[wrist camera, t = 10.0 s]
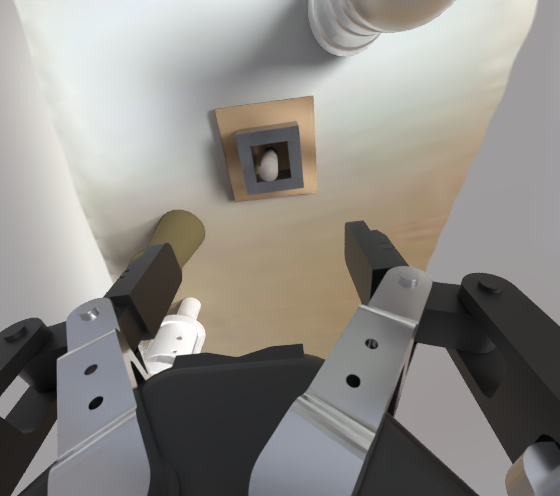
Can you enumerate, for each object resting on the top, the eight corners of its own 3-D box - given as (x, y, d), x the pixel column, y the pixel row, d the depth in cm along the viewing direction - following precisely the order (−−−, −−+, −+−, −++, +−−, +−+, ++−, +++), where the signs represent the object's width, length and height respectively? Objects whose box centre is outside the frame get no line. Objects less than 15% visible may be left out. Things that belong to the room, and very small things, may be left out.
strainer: (175, 320, 44) (134, 415, 31) (163, 289, 40) (111, 382, 28) (216, 318, 44) (192, 413, 31) (208, 287, 40) (177, 380, 28)
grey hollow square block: (296, 120, 27) (298, 125, 24) (301, 177, 30) (304, 187, 27) (239, 129, 27) (234, 134, 24) (250, 184, 30) (247, 195, 27)
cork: (170, 252, 37) (135, 309, 27) (151, 214, 34) (103, 264, 24) (211, 245, 36) (189, 300, 27) (195, 205, 33) (164, 253, 24)
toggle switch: (316, 188, 32) (327, 217, 25) (236, 198, 33) (225, 228, 26) (311, 95, 27) (324, 99, 20) (216, 108, 27) (196, 116, 20)
